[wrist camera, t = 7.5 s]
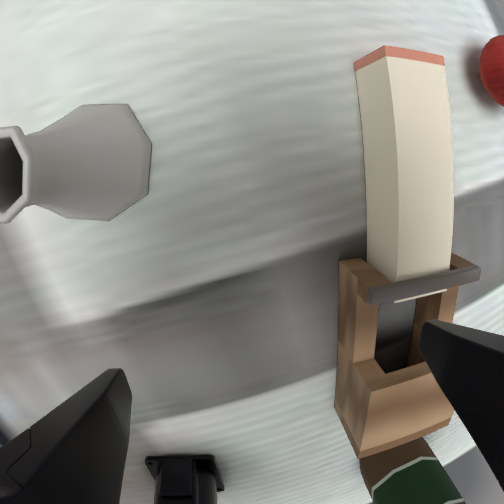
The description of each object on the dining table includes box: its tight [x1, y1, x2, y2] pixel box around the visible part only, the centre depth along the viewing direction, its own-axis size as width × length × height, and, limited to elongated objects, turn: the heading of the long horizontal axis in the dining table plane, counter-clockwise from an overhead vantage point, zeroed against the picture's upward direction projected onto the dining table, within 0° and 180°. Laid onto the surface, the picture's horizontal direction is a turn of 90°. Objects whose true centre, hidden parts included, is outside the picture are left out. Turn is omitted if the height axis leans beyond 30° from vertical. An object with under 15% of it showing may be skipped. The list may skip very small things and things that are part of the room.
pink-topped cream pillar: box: [354, 45, 454, 303], centre depth 17 cm, size 14×4×4 cm, turn 6°
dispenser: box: [334, 253, 481, 459], centre depth 20 cm, size 13×8×6 cm, turn 6°
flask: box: [0, 104, 151, 224], centre depth 12 cm, size 7×7×10 cm
